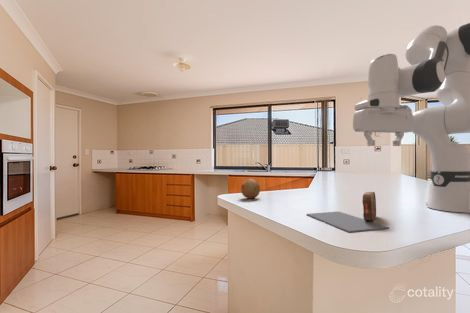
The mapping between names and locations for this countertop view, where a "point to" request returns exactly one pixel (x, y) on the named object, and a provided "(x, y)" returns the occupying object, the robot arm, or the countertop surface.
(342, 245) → the countertop surface
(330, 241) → the countertop surface
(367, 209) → the tin
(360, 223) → the rubber mat
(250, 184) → the onion
